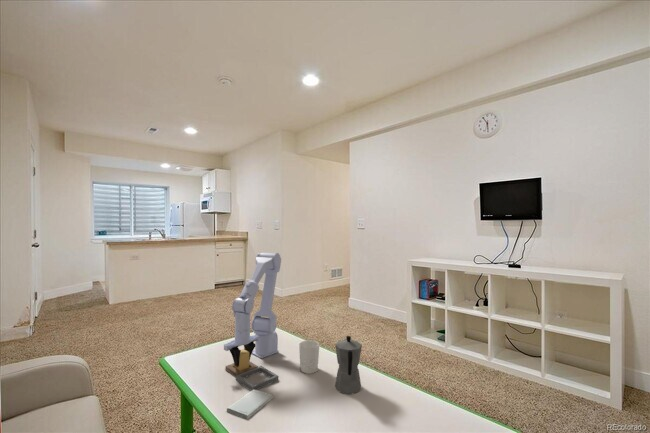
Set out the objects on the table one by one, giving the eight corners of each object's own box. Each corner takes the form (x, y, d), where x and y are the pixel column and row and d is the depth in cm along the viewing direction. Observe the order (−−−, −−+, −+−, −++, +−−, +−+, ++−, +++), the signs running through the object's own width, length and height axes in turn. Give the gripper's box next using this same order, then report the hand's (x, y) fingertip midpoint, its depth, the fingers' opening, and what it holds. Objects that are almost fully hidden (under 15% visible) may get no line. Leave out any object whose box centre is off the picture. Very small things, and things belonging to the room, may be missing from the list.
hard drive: (247, 415, 92) (272, 394, 103) (226, 407, 95) (253, 388, 106) (247, 421, 92) (272, 399, 103) (226, 413, 95) (253, 393, 106)
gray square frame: (261, 369, 122) (261, 365, 122) (278, 379, 114) (278, 375, 114) (235, 379, 114) (235, 375, 114) (252, 391, 106) (252, 387, 106)
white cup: (295, 372, 120) (295, 346, 121) (304, 363, 128) (304, 339, 128) (314, 376, 118) (314, 349, 118) (322, 367, 125) (322, 342, 125)
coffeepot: (334, 377, 116) (334, 329, 117) (359, 378, 116) (360, 329, 117) (335, 401, 101) (336, 345, 101) (364, 402, 101) (365, 346, 101)
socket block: (245, 362, 128) (245, 359, 128) (258, 370, 122) (258, 366, 122) (225, 370, 121) (225, 366, 121) (237, 378, 115) (237, 374, 115)
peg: (243, 366, 124) (243, 349, 124) (249, 370, 122) (249, 352, 122) (234, 370, 121) (234, 352, 121) (239, 373, 119) (240, 355, 119)
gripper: (252, 322, 130) (252, 355, 129) (220, 330, 119) (219, 366, 119) (262, 326, 125) (262, 360, 125) (229, 335, 114) (228, 372, 114)
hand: (241, 363), depth 121 cm, fingers closed on peg, 4 cm apart
